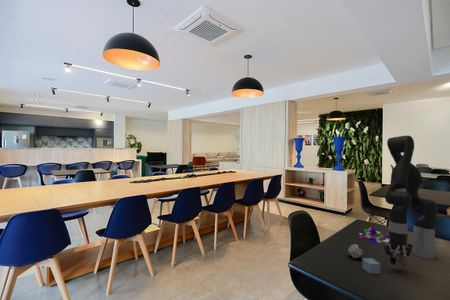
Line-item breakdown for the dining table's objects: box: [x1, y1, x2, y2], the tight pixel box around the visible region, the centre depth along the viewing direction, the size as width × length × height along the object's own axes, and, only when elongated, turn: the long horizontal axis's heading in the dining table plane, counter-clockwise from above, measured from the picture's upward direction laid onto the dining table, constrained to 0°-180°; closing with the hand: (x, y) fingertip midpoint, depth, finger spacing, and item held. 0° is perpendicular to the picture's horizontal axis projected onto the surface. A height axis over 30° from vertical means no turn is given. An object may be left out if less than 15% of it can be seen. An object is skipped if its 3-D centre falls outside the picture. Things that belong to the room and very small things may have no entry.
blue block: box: [361, 257, 381, 275], centre depth 111 cm, size 6×6×5 cm
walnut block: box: [389, 252, 407, 268], centre depth 111 cm, size 4×4×5 cm
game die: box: [345, 242, 365, 260], centre depth 124 cm, size 9×8×10 cm
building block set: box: [358, 227, 390, 244], centre depth 154 cm, size 25×20×4 cm
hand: (397, 263), depth 111 cm, fingers closed on walnut block, 4 cm apart
